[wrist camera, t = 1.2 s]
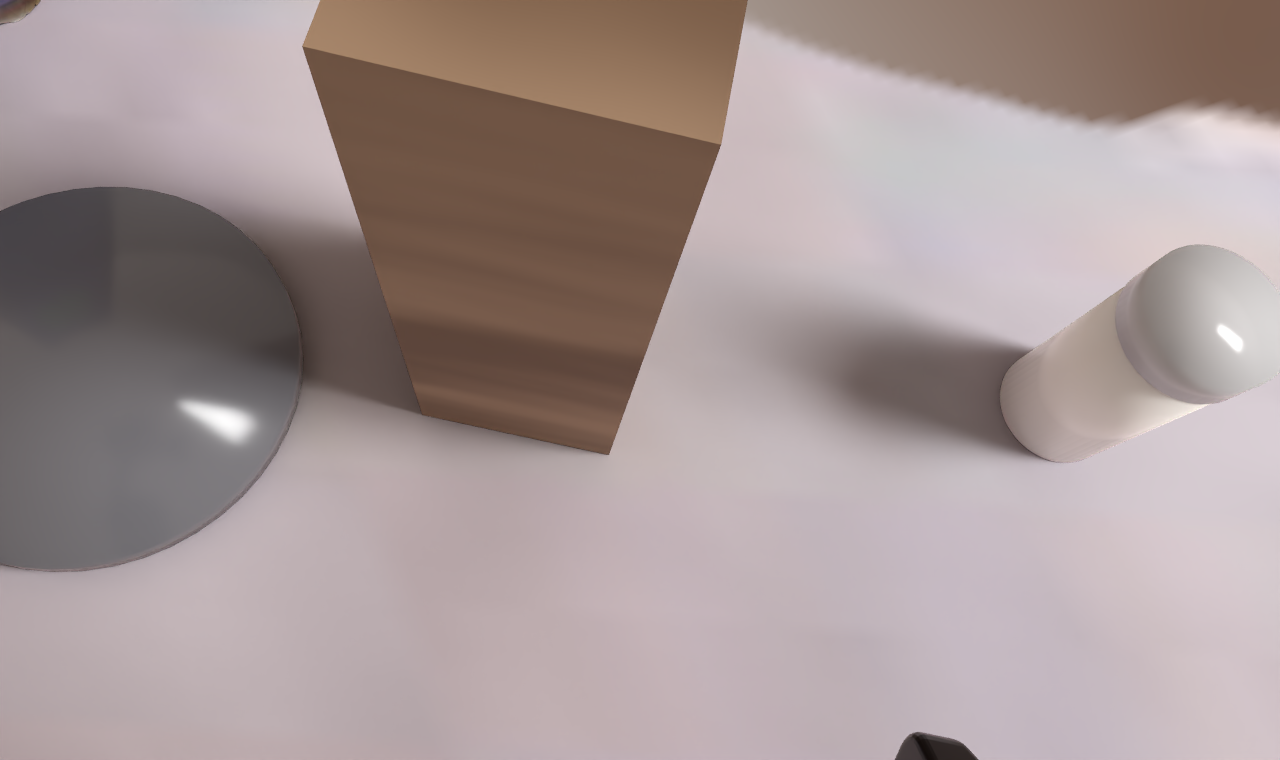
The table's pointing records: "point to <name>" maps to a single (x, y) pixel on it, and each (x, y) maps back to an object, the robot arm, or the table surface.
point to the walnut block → (526, 188)
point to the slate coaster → (133, 374)
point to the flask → (15, 9)
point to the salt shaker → (1147, 355)
